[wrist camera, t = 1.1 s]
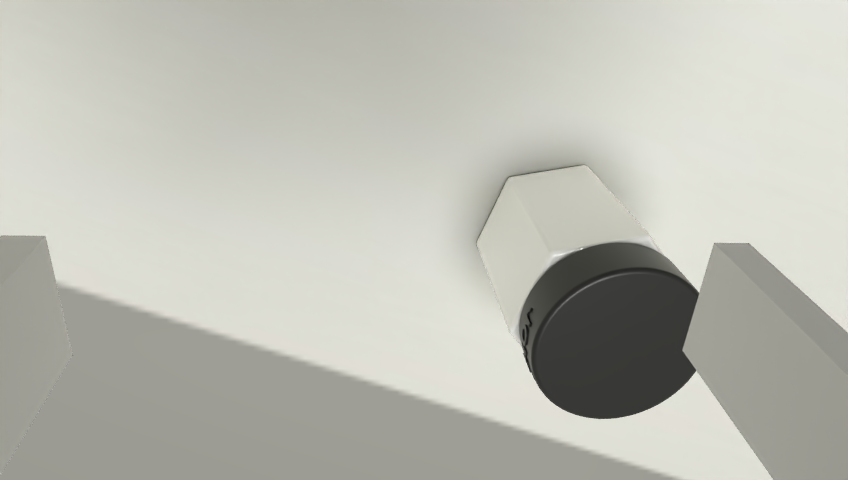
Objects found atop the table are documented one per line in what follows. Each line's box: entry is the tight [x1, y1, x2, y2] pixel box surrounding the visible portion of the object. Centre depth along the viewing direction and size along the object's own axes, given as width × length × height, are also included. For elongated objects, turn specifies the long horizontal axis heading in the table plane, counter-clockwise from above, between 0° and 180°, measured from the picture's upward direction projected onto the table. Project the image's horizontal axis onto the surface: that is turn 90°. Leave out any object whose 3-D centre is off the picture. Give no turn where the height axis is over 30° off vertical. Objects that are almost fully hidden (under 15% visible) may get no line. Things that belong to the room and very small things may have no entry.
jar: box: [477, 165, 699, 419], centre depth 35 cm, size 9×8×12 cm
